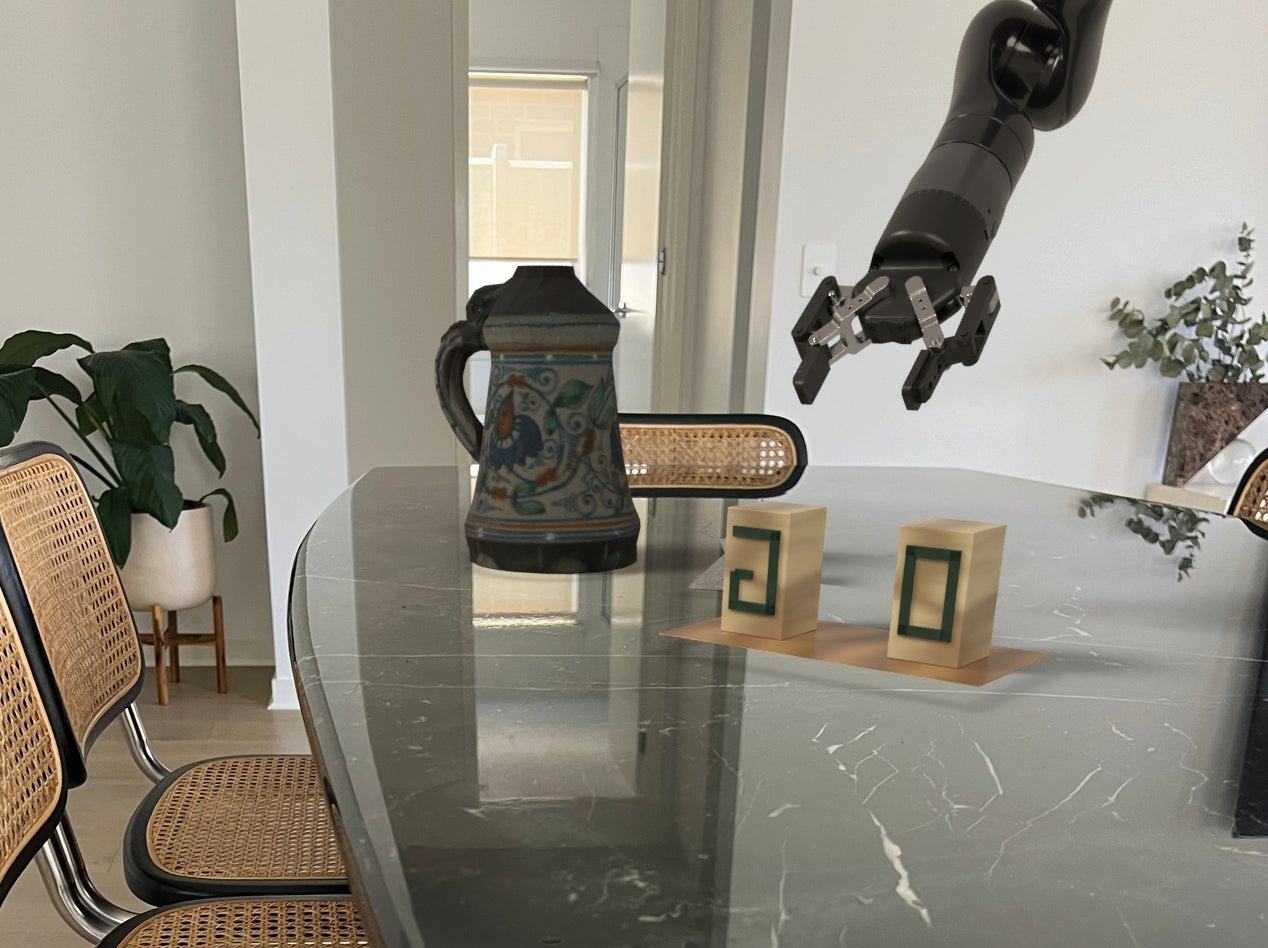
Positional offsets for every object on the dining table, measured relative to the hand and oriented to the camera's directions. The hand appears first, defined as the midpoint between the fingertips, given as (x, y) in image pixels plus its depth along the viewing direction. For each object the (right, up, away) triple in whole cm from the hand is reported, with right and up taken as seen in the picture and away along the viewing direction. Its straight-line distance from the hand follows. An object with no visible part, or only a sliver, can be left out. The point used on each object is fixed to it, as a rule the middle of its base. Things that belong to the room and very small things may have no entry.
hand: (854, 399), depth 105 cm
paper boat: (-5, -8, +22) cm, 24 cm away
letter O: (+4, -20, -8) cm, 22 cm away
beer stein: (-23, -3, +33) cm, 40 cm away
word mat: (-1, -19, -4) cm, 20 cm away
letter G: (-6, -17, 0) cm, 18 cm away
